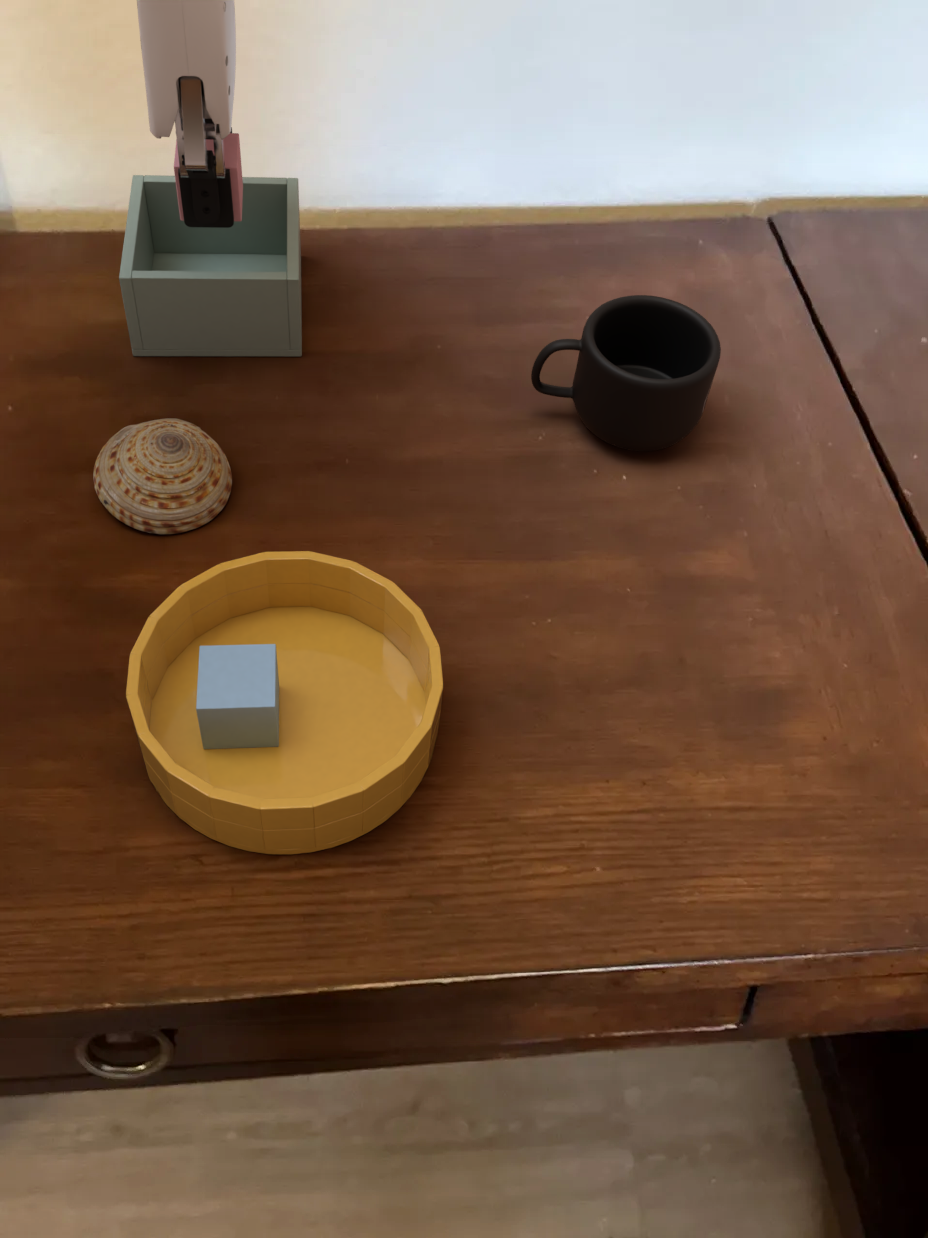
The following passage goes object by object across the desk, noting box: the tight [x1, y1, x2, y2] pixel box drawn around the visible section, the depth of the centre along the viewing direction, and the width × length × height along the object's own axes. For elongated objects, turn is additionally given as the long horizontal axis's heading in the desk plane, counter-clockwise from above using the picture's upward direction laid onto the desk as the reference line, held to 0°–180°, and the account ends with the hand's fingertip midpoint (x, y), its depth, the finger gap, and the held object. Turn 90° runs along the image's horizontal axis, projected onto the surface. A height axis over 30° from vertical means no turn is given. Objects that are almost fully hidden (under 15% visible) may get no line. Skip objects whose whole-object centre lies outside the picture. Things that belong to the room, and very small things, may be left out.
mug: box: [530, 294, 722, 452], centre depth 81 cm, size 12×9×7 cm
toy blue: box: [196, 644, 279, 749], centre depth 65 cm, size 4×4×4 cm
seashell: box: [92, 417, 233, 535], centre depth 76 cm, size 8×6×8 cm
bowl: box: [125, 550, 444, 855], centre depth 65 cm, size 16×16×5 cm
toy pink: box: [173, 132, 243, 221], centre depth 80 cm, size 4×4×4 cm
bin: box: [118, 174, 303, 357], centre depth 85 cm, size 12×12×7 cm
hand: (210, 200), depth 81 cm, fingers closed on toy pink, 4 cm apart
